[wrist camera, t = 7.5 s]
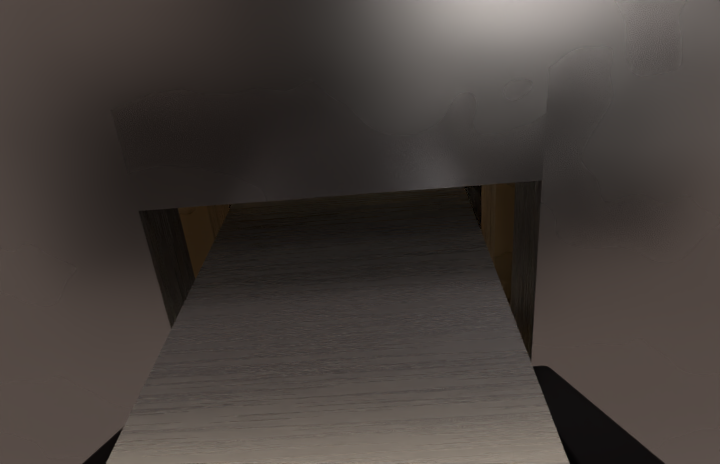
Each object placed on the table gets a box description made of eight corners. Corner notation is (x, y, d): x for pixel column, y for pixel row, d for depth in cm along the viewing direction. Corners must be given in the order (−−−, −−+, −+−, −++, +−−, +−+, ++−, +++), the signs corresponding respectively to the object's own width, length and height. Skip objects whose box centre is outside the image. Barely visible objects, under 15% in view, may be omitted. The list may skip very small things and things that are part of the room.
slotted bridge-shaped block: (694, -99, 11) (898, -116, 7) (618, 411, 16) (703, 573, 12) (-20, -33, 11) (-237, -11, 7) (141, 439, 16) (69, 604, 12)
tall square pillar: (444, 135, 13) (710, 837, 3) (448, 293, 14) (622, 1060, 5) (251, 150, 13) (-115, 858, 3) (279, 305, 15) (104, 1061, 5)
